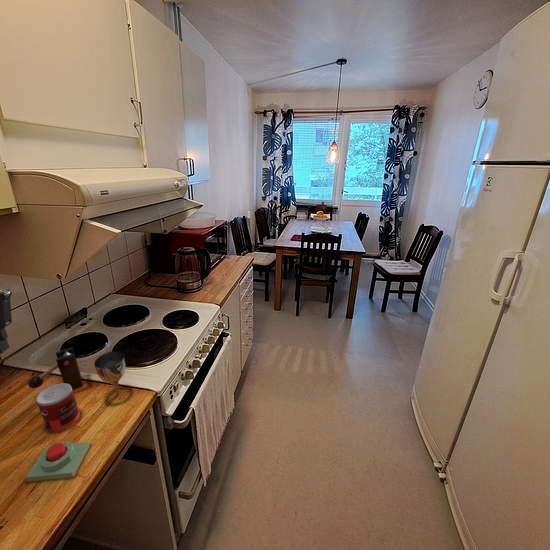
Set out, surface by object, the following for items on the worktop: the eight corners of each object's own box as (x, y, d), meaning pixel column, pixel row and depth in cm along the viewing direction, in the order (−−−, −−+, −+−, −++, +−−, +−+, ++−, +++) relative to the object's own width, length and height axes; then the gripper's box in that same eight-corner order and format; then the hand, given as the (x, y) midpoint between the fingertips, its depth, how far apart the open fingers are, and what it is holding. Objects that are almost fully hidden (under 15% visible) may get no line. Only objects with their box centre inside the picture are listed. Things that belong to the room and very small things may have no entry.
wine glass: (130, 404, 88) (121, 365, 83) (102, 410, 86) (90, 370, 81) (134, 386, 95) (126, 349, 90) (108, 391, 93) (98, 353, 88)
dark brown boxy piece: (61, 399, 90) (48, 364, 85) (60, 386, 95) (48, 352, 90) (90, 388, 94) (80, 354, 89) (88, 376, 99) (78, 343, 94)
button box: (28, 483, 67) (22, 472, 65) (49, 451, 74) (44, 440, 72) (73, 478, 68) (69, 467, 66) (90, 447, 75) (86, 436, 74)
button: (44, 462, 68) (42, 457, 67) (53, 448, 71) (51, 443, 70) (60, 460, 68) (58, 455, 67) (69, 447, 71) (67, 442, 71)
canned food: (52, 415, 84) (41, 386, 80) (83, 408, 87) (74, 380, 83) (43, 437, 77) (30, 407, 73) (77, 429, 80) (67, 399, 76)
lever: (35, 392, 86) (24, 387, 84) (35, 385, 89) (25, 380, 87) (75, 360, 90) (65, 354, 88) (74, 355, 93) (65, 349, 91)
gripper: (10, 258, 69) (39, 340, 78) (-50, 260, 68) (-14, 343, 76) (-15, 269, 62) (19, 358, 71) (-83, 271, 61) (-39, 361, 70)
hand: (2, 350), depth 74 cm, fingers closed
